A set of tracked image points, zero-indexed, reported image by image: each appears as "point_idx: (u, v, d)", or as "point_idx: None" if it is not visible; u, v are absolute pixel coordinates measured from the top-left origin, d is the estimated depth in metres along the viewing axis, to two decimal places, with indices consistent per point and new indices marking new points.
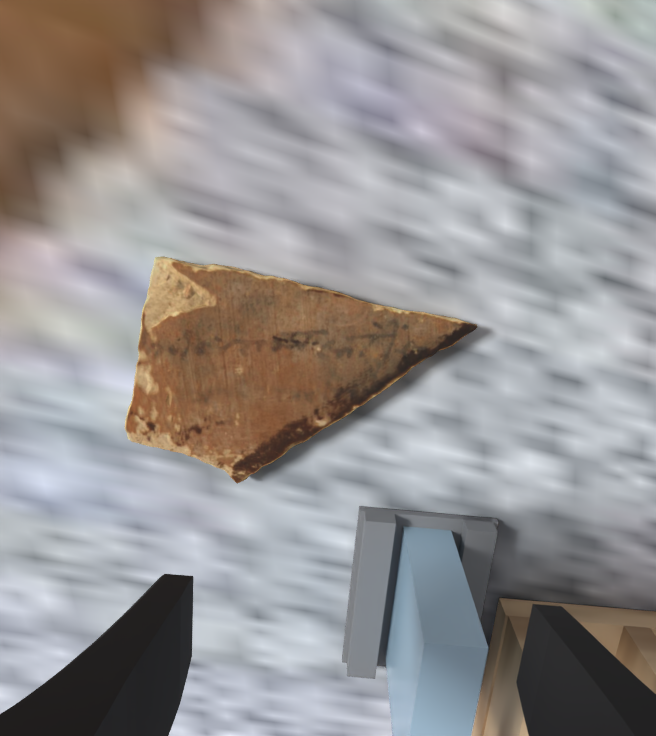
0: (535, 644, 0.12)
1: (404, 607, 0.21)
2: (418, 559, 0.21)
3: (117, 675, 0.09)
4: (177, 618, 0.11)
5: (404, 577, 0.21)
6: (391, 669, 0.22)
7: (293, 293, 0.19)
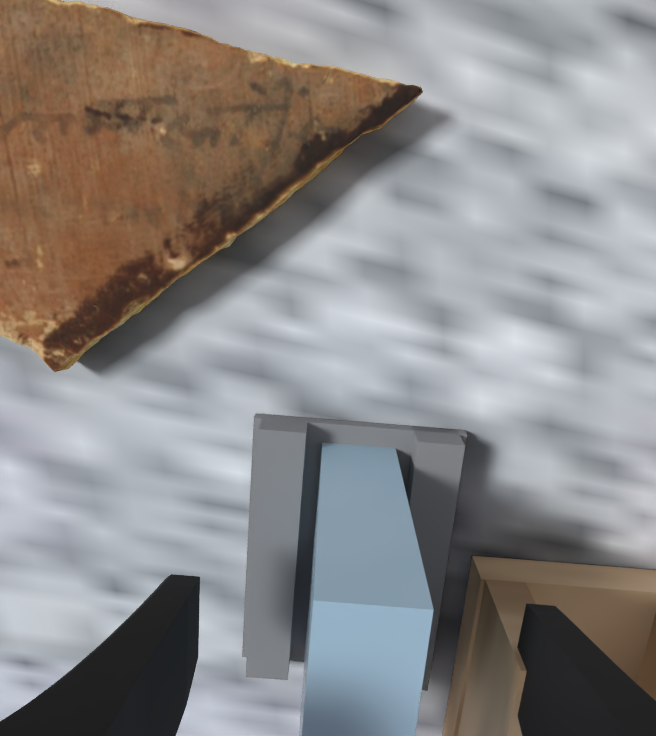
0: (528, 643, 0.12)
1: None
2: (334, 480, 0.13)
3: (126, 676, 0.09)
4: (184, 619, 0.11)
5: None
6: (304, 663, 0.14)
7: (115, 30, 0.12)
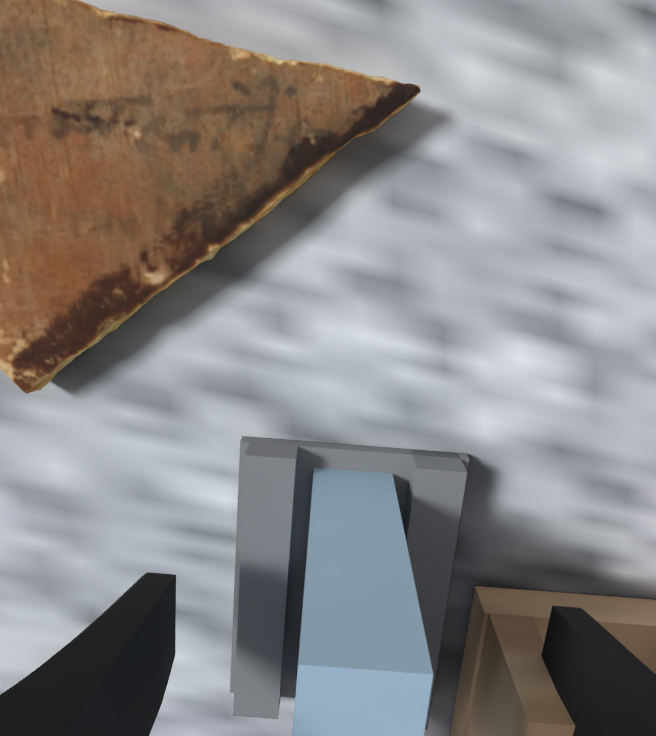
0: (556, 646, 0.12)
1: None
2: (325, 513, 0.12)
3: (93, 673, 0.09)
4: (158, 617, 0.11)
5: None
6: None
7: (83, 24, 0.11)
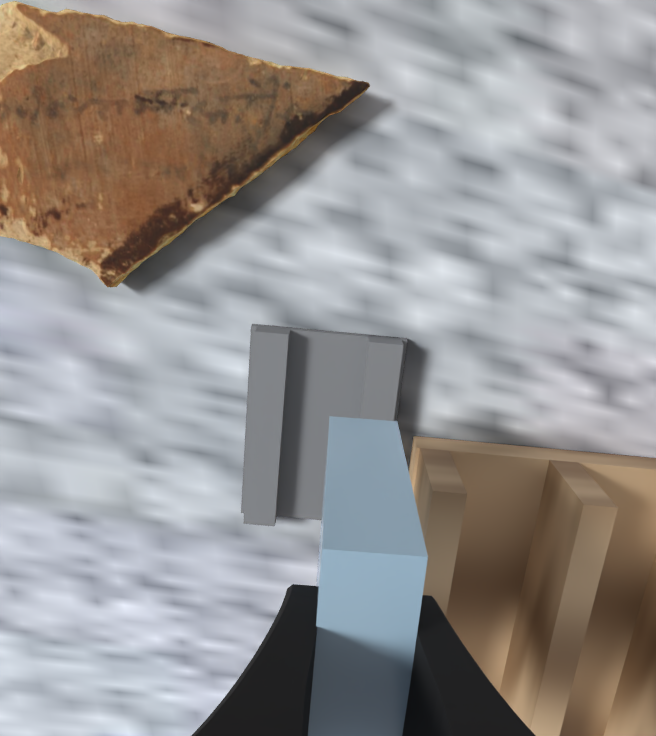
0: None
1: None
2: (340, 449, 0.14)
3: (293, 689, 0.09)
4: None
5: None
6: None
7: (156, 42, 0.17)
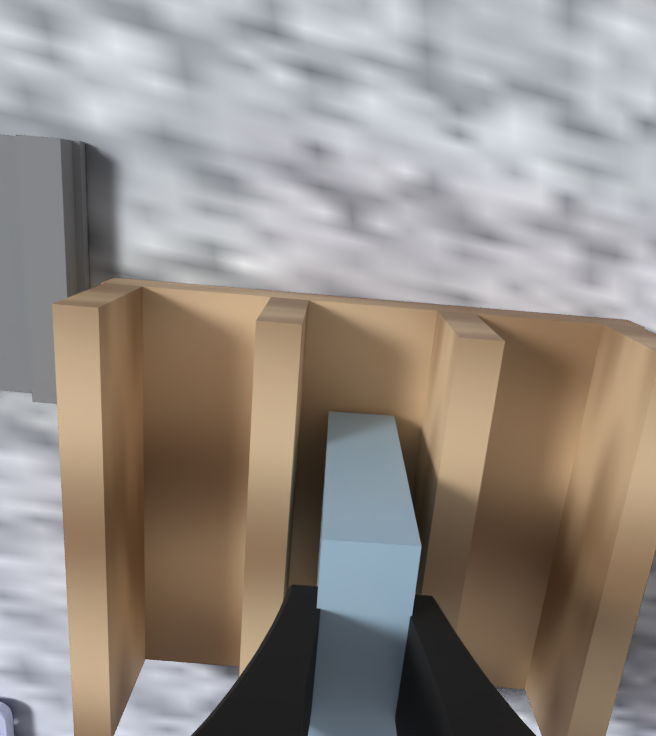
0: None
1: None
2: (339, 443, 0.15)
3: (293, 689, 0.09)
4: (318, 629, 0.11)
5: (324, 474, 0.15)
6: None
7: None
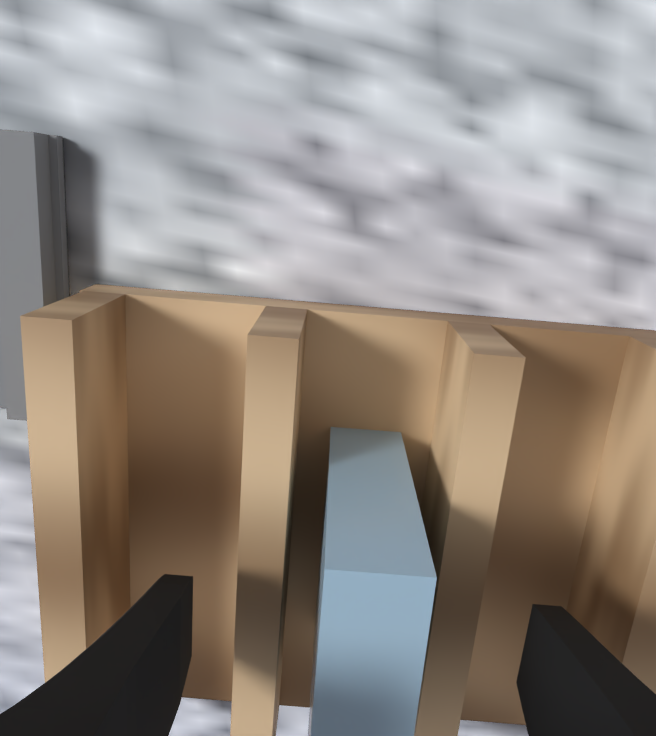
0: (535, 644, 0.12)
1: None
2: (342, 462, 0.13)
3: (117, 675, 0.09)
4: (177, 618, 0.11)
5: None
6: (314, 637, 0.15)
7: None
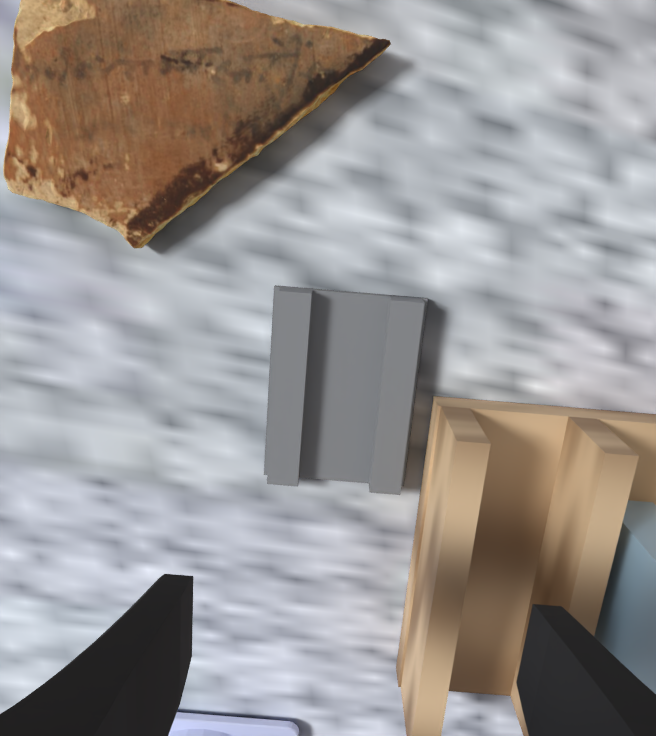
0: (535, 644, 0.12)
1: (623, 581, 0.20)
2: (637, 529, 0.20)
3: (117, 675, 0.09)
4: (177, 618, 0.11)
5: (616, 550, 0.20)
6: None
7: (181, 2, 0.17)
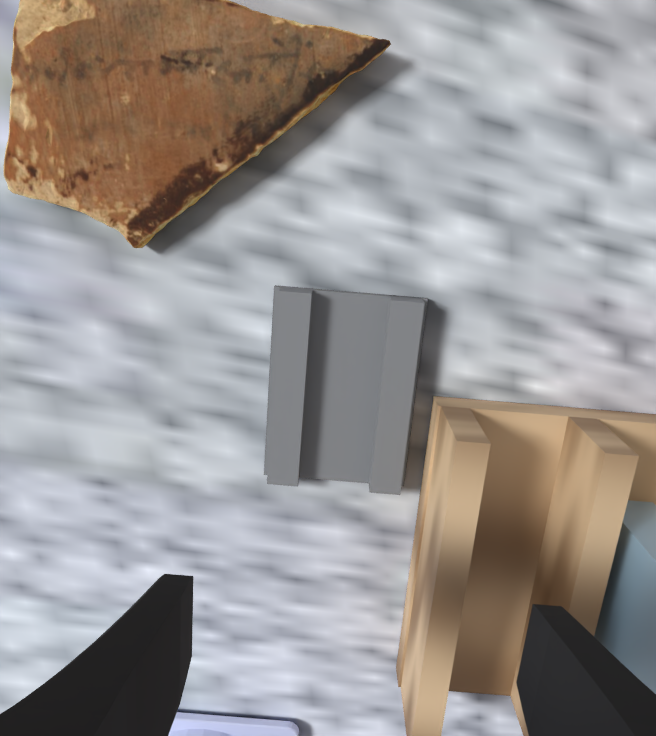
0: (535, 644, 0.12)
1: (623, 581, 0.20)
2: (637, 529, 0.20)
3: (117, 675, 0.09)
4: (177, 618, 0.11)
5: (616, 550, 0.20)
6: None
7: (181, 2, 0.17)
